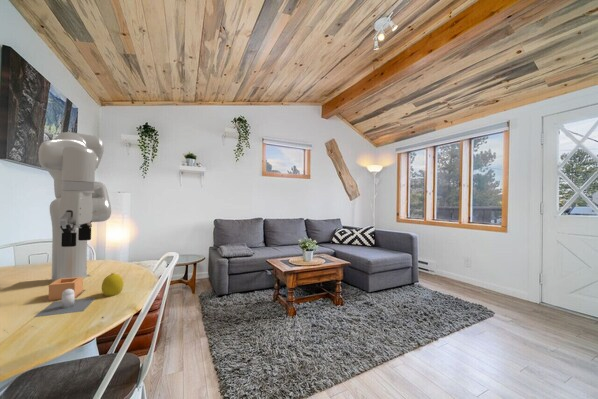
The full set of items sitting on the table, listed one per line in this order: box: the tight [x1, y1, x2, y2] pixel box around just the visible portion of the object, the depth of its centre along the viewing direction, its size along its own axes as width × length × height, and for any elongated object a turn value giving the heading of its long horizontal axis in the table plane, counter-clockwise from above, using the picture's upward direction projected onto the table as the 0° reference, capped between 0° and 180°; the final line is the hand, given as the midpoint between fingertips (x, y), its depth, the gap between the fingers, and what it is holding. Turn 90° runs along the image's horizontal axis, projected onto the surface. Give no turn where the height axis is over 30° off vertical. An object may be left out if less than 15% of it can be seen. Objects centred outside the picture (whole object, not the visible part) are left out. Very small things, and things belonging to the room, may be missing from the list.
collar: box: [48, 277, 84, 301], centre depth 77 cm, size 6×6×4 cm
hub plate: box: [33, 289, 97, 318], centre depth 70 cm, size 10×10×6 cm
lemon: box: [101, 272, 124, 297], centre depth 79 cm, size 6×6×8 cm
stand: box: [43, 289, 86, 303], centre depth 77 cm, size 8×8×4 cm
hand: (77, 243), depth 77 cm, fingers open, 9 cm apart
